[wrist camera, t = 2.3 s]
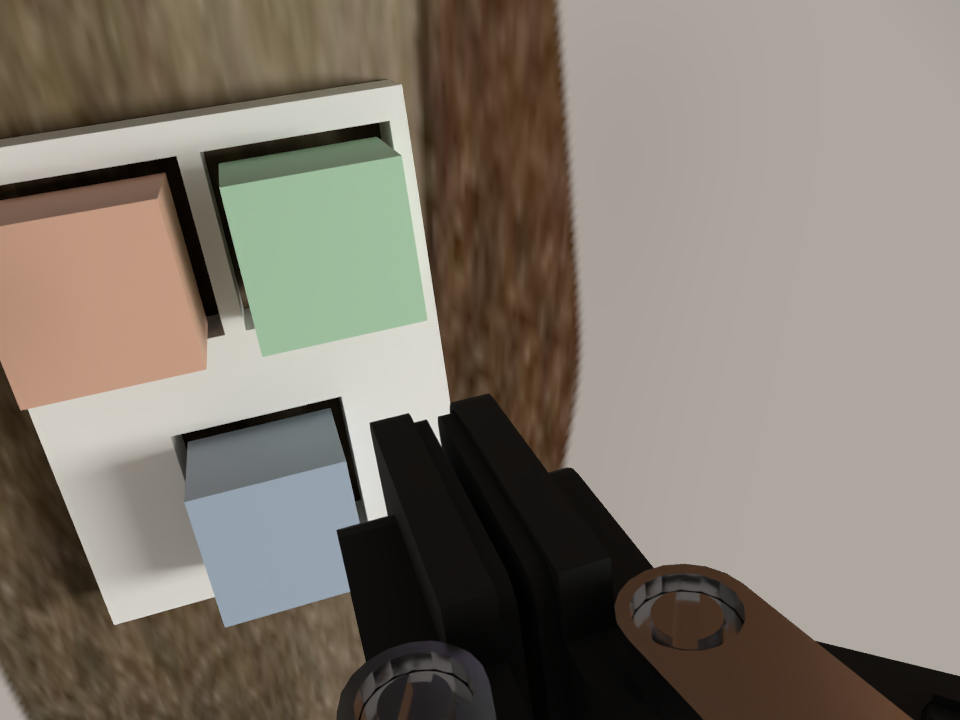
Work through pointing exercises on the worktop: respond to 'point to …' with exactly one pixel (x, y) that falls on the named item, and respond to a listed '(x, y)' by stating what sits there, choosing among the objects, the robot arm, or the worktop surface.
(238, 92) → the worktop surface
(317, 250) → the sage key
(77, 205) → the terracotta key
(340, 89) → the key console
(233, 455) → the slate key
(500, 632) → the robot arm
